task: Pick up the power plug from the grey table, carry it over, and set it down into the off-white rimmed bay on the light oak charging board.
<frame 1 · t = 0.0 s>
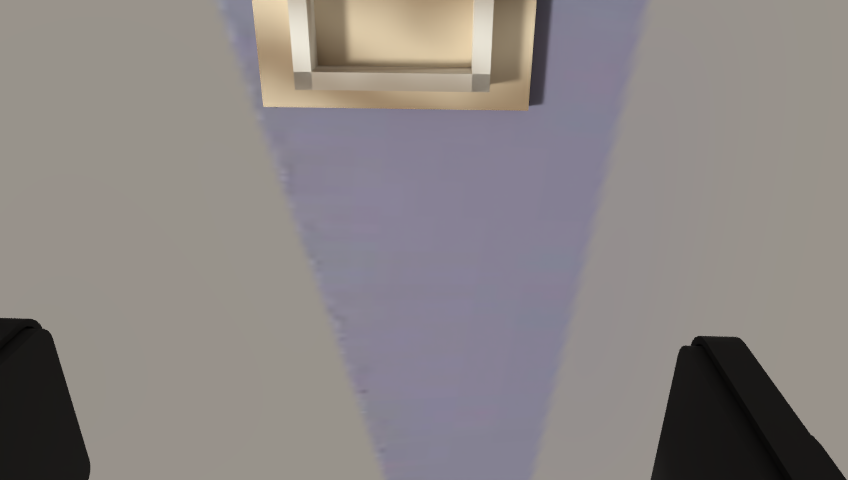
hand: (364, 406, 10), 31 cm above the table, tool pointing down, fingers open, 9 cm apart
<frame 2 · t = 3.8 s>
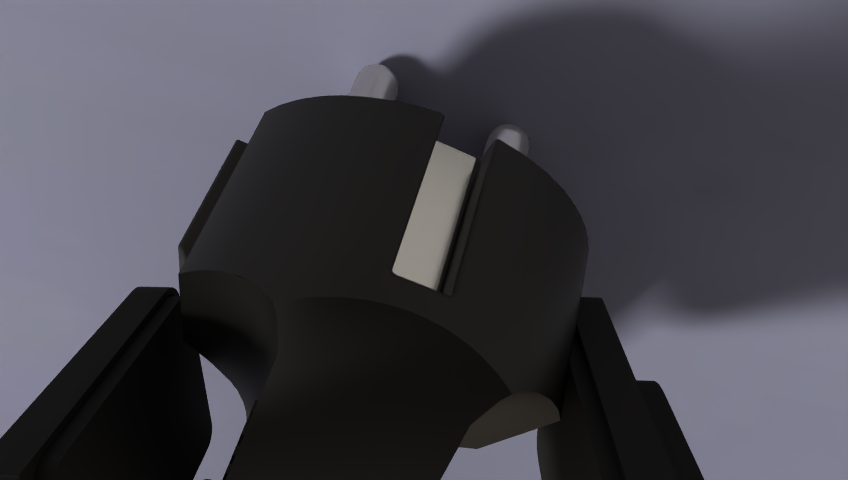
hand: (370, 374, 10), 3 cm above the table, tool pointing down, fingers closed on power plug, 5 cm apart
power plug: (343, 324, 14), on the table, touching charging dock, gripper
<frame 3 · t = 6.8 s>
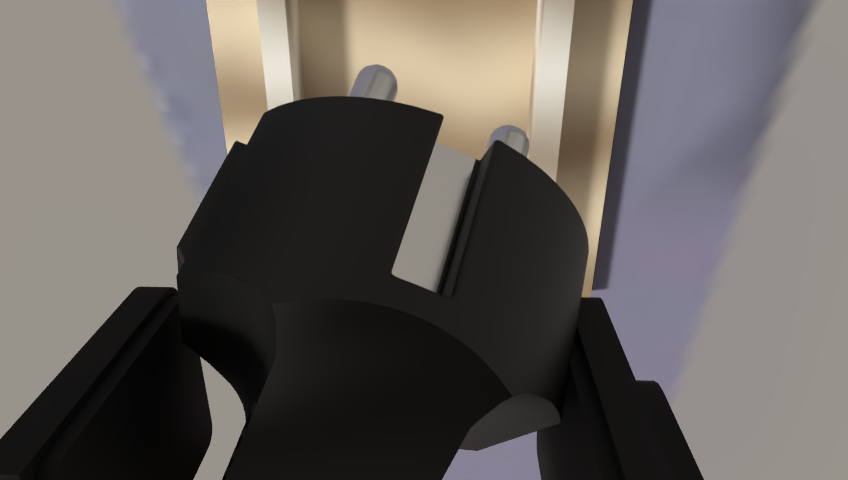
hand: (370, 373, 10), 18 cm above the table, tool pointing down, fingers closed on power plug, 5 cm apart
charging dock: (418, 125, 27), on the table
power plug: (343, 325, 14), point 15 cm above the table, touching gripper
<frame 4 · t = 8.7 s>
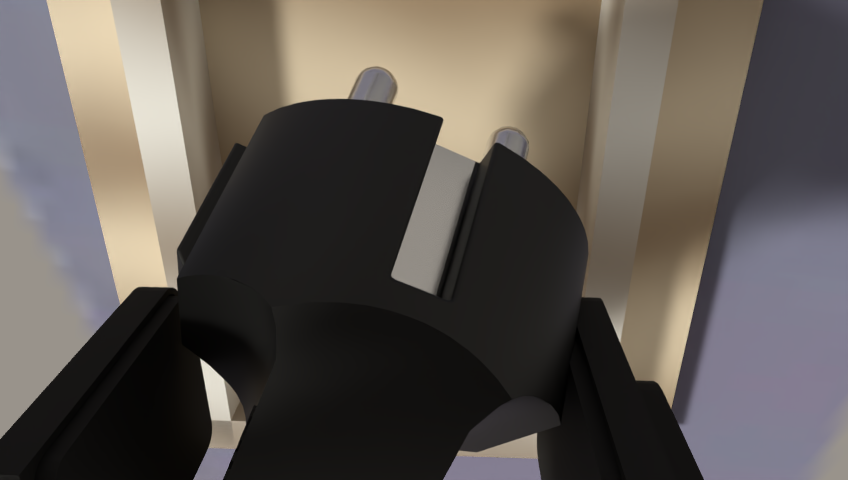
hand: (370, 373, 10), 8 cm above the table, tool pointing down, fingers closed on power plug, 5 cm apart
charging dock: (403, 192, 17), on the table
power plug: (343, 326, 14), point 4 cm above the table, touching gripper
when the fingers open (6 cm above the table, at t = 10.1 s): power plug stays where it is, resting on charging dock.
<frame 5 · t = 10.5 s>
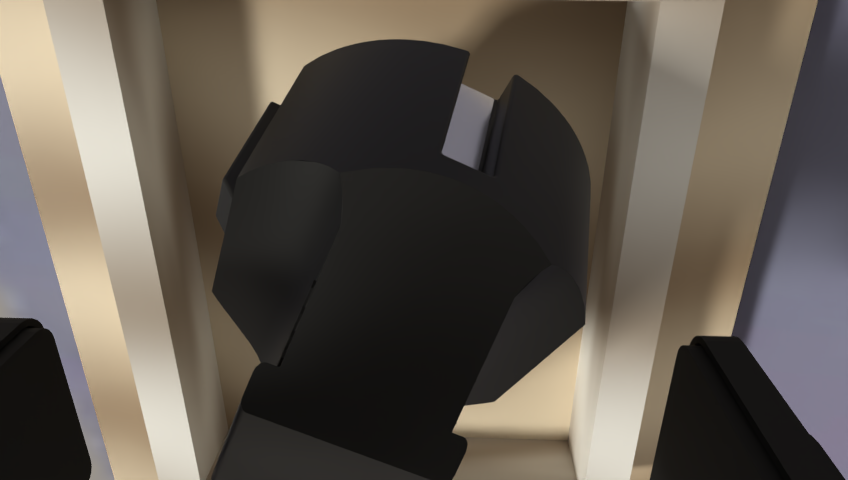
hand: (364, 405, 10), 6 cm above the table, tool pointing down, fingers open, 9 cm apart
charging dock: (396, 230, 15), on the table
power plug: (345, 323, 14), point 2 cm above the table, touching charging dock
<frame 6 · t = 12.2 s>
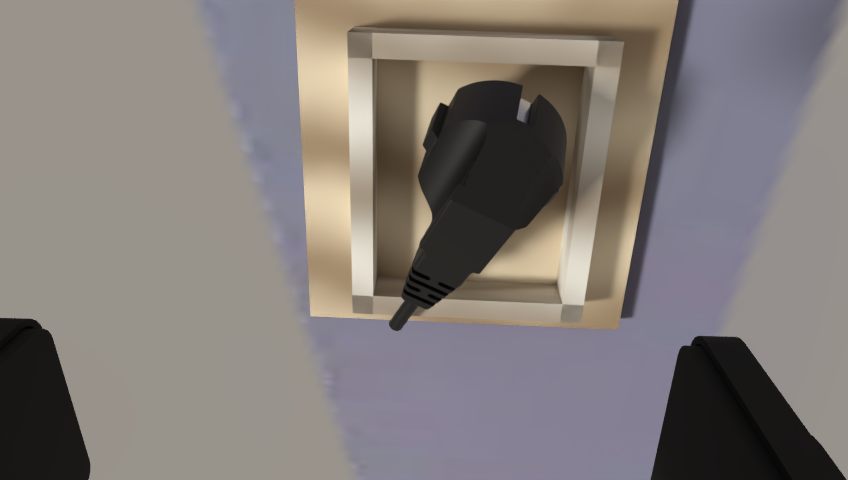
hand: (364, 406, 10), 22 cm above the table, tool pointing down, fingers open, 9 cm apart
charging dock: (472, 169, 31), on the table
power plug: (450, 211, 29), point 2 cm above the table, touching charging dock
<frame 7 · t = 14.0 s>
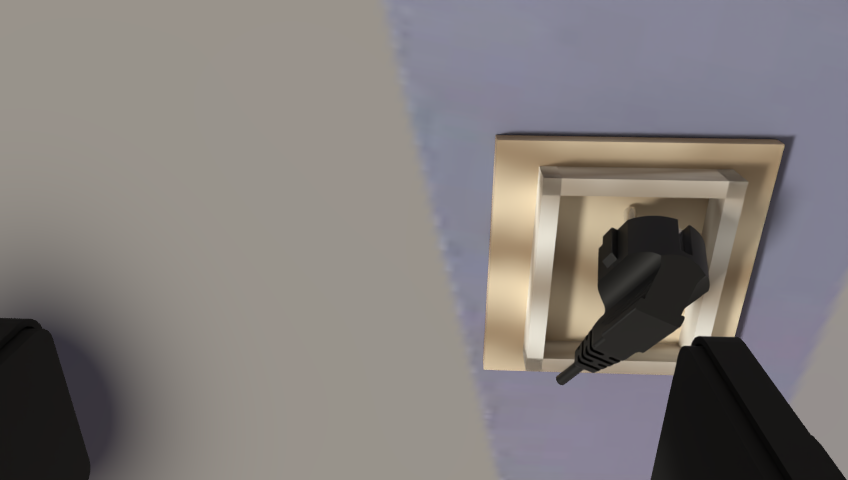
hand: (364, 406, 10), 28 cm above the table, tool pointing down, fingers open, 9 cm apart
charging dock: (616, 260, 40), on the table
power plug: (603, 295, 39), point 2 cm above the table, touching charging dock
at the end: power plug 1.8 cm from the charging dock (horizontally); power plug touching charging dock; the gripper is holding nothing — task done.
